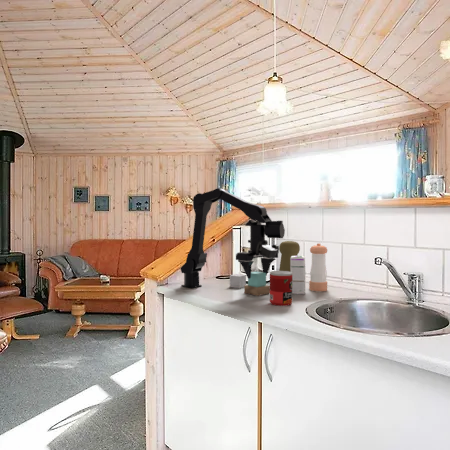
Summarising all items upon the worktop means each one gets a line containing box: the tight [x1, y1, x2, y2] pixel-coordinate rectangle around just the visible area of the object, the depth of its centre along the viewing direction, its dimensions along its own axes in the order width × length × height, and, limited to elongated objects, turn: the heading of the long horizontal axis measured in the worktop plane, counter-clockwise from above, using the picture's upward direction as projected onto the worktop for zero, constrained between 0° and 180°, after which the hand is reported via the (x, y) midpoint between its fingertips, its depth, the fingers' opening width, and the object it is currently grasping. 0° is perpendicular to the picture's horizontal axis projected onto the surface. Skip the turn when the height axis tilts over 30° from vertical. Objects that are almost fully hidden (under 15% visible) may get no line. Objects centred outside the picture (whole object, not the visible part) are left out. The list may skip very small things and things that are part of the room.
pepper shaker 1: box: [278, 240, 301, 272], centre depth 179 cm, size 10×10×19 cm
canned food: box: [269, 270, 293, 307], centre depth 142 cm, size 8×8×11 cm
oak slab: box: [243, 284, 270, 297], centre depth 160 cm, size 7×7×3 cm
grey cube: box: [229, 273, 247, 289], centre depth 174 cm, size 5×5×5 cm
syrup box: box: [290, 255, 306, 295], centre depth 161 cm, size 6×6×14 cm
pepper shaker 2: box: [308, 242, 328, 292], centre depth 167 cm, size 7×7×19 cm
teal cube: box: [247, 271, 267, 287], centre depth 160 cm, size 5×5×5 cm
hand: (257, 277), depth 160 cm, fingers open, 9 cm apart
